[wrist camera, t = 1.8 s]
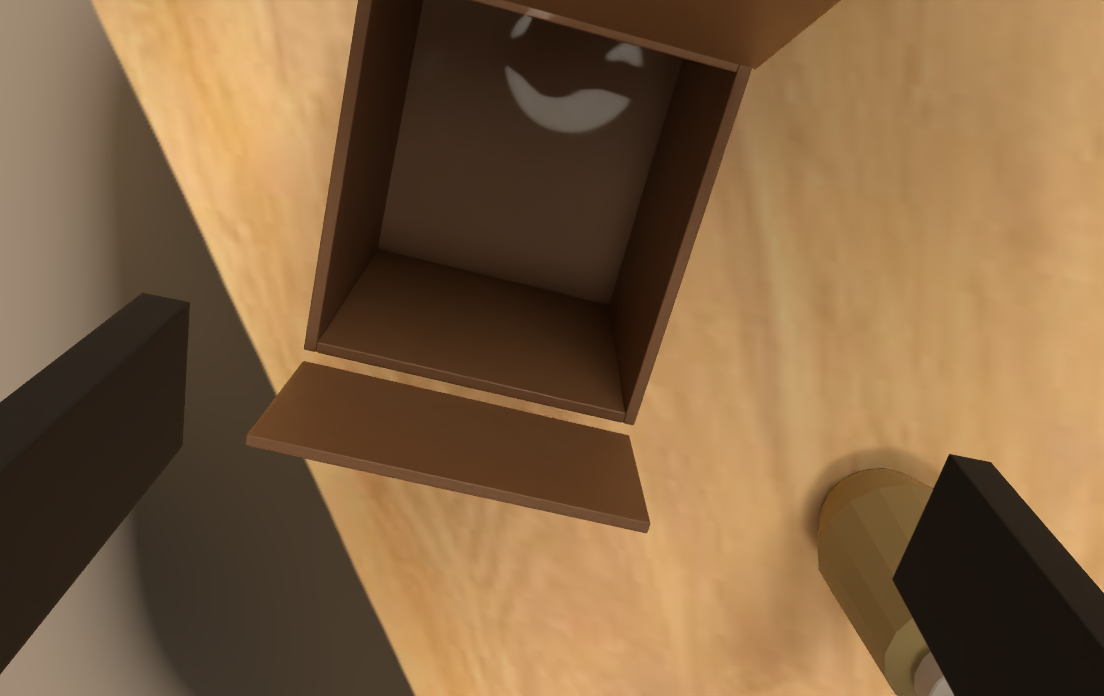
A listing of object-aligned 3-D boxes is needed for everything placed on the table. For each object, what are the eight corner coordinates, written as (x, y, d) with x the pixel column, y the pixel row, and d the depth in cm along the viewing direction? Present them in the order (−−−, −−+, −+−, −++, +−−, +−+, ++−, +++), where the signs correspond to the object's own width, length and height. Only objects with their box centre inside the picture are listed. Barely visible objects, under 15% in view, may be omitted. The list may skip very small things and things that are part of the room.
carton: (421, -39, 39) (308, -49, 21) (697, 37, 40) (809, 88, 22) (366, 267, 45) (240, 461, 27) (610, 326, 46) (643, 549, 28)
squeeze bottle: (773, 537, 51) (877, 809, 34) (849, 427, 48) (1003, 666, 31) (889, 586, 52) (1043, 871, 36) (971, 482, 49) (1179, 739, 33)
